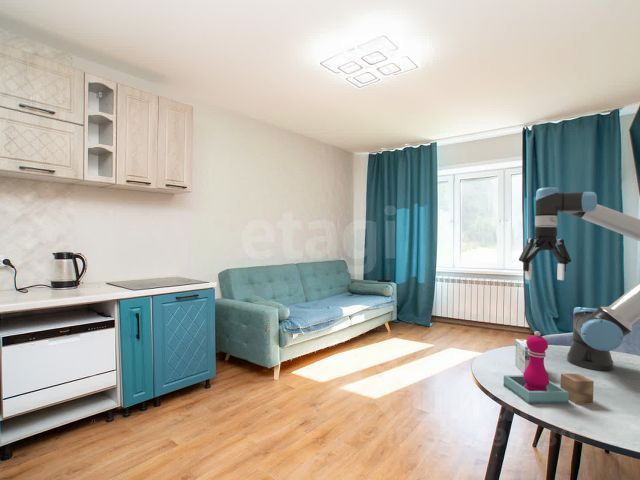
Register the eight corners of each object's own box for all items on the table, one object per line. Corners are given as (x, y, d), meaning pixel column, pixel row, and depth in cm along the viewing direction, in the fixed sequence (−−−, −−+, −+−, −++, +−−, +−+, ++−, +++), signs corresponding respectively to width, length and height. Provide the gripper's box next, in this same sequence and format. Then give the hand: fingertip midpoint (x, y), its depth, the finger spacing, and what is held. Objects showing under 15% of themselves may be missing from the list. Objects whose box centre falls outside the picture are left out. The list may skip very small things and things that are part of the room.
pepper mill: (519, 391, 113) (521, 330, 113) (526, 385, 118) (528, 327, 118) (545, 399, 108) (547, 335, 108) (551, 392, 113) (553, 331, 113)
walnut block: (577, 394, 114) (578, 373, 114) (592, 403, 108) (593, 381, 108) (560, 394, 113) (560, 373, 113) (574, 403, 107) (575, 381, 107)
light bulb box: (544, 377, 128) (545, 348, 128) (524, 375, 129) (525, 346, 129) (532, 366, 138) (533, 339, 138) (514, 365, 140) (514, 338, 139)
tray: (539, 385, 120) (539, 375, 120) (568, 403, 107) (568, 392, 107) (503, 385, 120) (503, 375, 119) (528, 403, 107) (528, 392, 107)
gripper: (522, 225, 134) (520, 280, 134) (583, 227, 135) (581, 281, 136) (510, 226, 141) (508, 278, 142) (568, 227, 143) (566, 278, 143)
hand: (544, 279), depth 139 cm, fingers open, 13 cm apart
